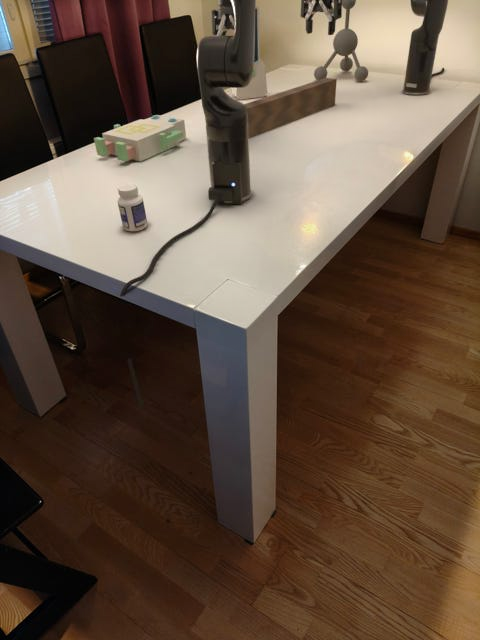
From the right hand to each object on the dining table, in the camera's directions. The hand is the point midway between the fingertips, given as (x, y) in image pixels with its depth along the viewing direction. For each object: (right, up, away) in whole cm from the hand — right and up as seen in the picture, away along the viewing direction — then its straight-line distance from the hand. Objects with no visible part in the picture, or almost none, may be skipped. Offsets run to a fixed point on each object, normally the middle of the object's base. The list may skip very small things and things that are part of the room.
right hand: (319, 34), depth 157 cm
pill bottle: (-48, -72, -51) cm, 101 cm away
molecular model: (+15, +9, +48) cm, 52 cm away
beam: (-12, -27, +3) cm, 30 cm away
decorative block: (-55, -41, -11) cm, 69 cm away
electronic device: (-22, -5, +32) cm, 40 cm away
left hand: (-27, -18, -21) cm, 39 cm away
